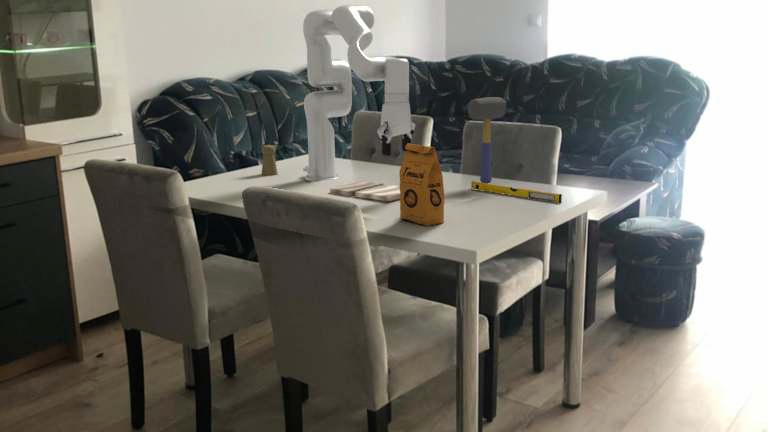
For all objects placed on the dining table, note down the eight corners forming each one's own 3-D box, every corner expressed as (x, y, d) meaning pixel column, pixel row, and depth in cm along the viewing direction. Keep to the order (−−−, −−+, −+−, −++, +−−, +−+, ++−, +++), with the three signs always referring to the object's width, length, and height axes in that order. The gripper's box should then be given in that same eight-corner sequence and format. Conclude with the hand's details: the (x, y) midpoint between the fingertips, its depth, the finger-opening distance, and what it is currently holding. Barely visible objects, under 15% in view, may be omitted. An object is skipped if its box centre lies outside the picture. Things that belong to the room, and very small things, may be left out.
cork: (280, 173, 310) (279, 144, 307) (270, 176, 305) (269, 146, 303) (268, 172, 313) (267, 143, 311) (258, 174, 308) (256, 145, 306)
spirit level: (471, 190, 277) (471, 181, 277) (473, 189, 278) (473, 181, 277) (559, 204, 256) (559, 194, 255) (561, 203, 256) (561, 193, 256)
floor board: (328, 195, 270) (327, 188, 269) (362, 187, 282) (362, 180, 282) (388, 206, 253) (388, 198, 253) (422, 197, 266) (422, 189, 265)
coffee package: (423, 228, 227) (423, 149, 221) (395, 220, 236) (394, 144, 231) (450, 222, 233) (450, 145, 227) (421, 215, 242) (421, 140, 237)
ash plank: (355, 196, 263) (355, 191, 263) (385, 189, 274) (385, 184, 274) (388, 201, 254) (388, 196, 254) (418, 193, 265) (418, 188, 265)
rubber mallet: (478, 188, 279) (479, 99, 272) (464, 184, 286) (465, 97, 279) (506, 183, 286) (508, 97, 279) (492, 180, 292) (494, 95, 285)
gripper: (405, 95, 264) (404, 148, 268) (369, 100, 251) (369, 155, 255) (423, 97, 259) (422, 151, 263) (387, 102, 246) (387, 158, 250)
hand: (396, 153), depth 259 cm, fingers open, 9 cm apart
